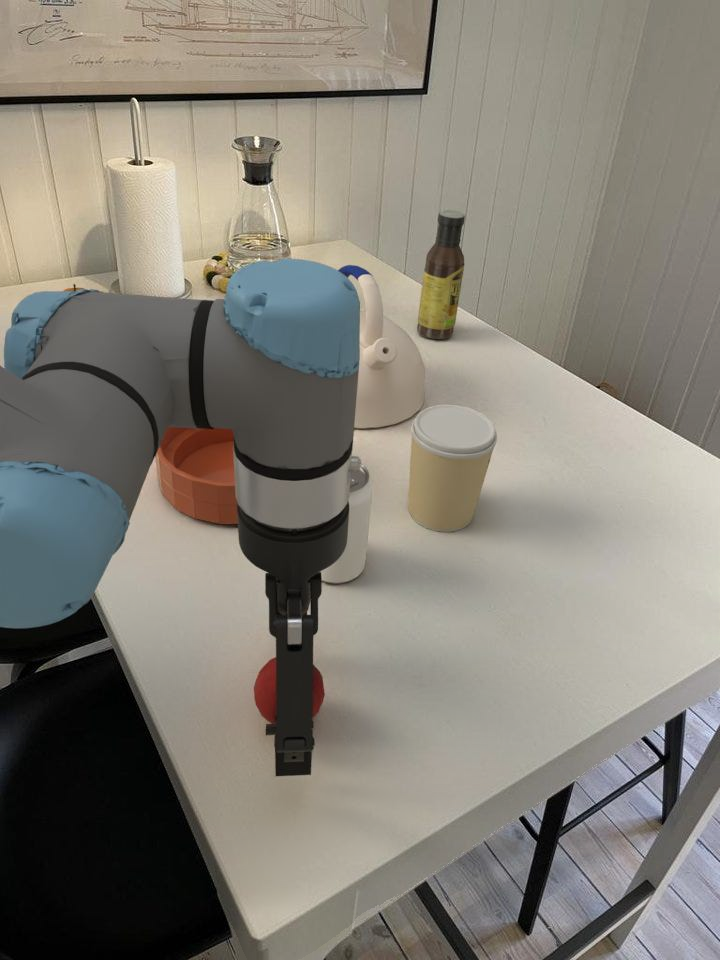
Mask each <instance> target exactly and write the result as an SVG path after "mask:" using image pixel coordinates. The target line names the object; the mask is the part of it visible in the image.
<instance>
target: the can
mask: <svg viewBox="0 0 720 960" xmlns="http://www.w3.org/2000/svg"><path fill="white" fill-rule="evenodd" d="M349 472H350V493H349V499H348V502H349V522H348V537H347V545H346V548H345V550H344V552H343V554H342V555H341V557H340V558H339V559H338V560H337V561H336V562H335V563H334V564H332V565H331V566H329V567H328V568H326V569H324V570H322V571H320V572H321V579H322V583H323V582H324V583H327V584H332V585H333V584H336V585H339V584H345V583H348V582H351V581H353V580H354V579H356V578H357V577H359V576H360V575H361V574H362V572H363V571H364V569H365V566H366V559H367V550H368V540H369V533H370V532H369V531H370V523H371V522H370V521H371V510H372V500H373V499H372V498H373V486H372V482H371V480H370V472H369V470H368V468H367V467H366V466H365V465H363V464H362V463H361V467H360V469H359V470H357V471H349Z"/></svg>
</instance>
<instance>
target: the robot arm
mask: <svg viewBox="0 0 720 960" xmlns="http://www.w3.org/2000/svg"><path fill="white" fill-rule="evenodd" d="M338 270H339V269H336V268H333V267H332V266H330V265H327V264H325V263H322V262H317V261H312V260H307V259H301V258H280V259H279V260H276V261H275V260H274V261H269V260H259V261H254V262H252V263H247V264H246V265H244V266H241V267H240V268H239V269H238V270H236V271H235V272H234V273H233V274H232V275H231V276H230V277H229V279H228V281H227V284H226V288H225V296H224V297H223V298H216V299H214V300H212V299H197V298H195V299H194V298H181V297H168V296H158V295H157V296H156V295H143V294H131V293H115V292H105V291H100V290H98V289H94V288H92V289H91V288H90V289H87V290H86V288H84V289H81V290H77V291H64V290H59V291H57V290H45V291H43V290H42V291H36V292H33V293H31V294H28V295H27V296H25V297H24V298H22V299H21V300H20V301H19V303H18V304H17V305H16V307H14V309H13V311H12V313H11V319H10V320H11V321H10V323H11V324H10V325H11V326H10V327H9V328H7V329H6V331H5V335H4V345H3V366H4V367H3V366H2V365H0V628H4V629H5V628H6V629H31V628H33V629H34V628H39V627H44V626H49V625H52V624H55V623H57V622H60V621H63V620H64V619H67V618H68V617H70V616H72V615H74V614H75V613H77V611H78V610H79V609H81V608H82V607H83V606H85V605H87V604H88V603H89V602H90V601H91V599H92V598H93V596H94V594H95V592H96V590H97V588H98V586H99V584H100V582H101V580H102V578H103V576H104V574H105V572H106V570H107V568H108V566H109V564H110V562H111V559H112V558H113V556H114V555H115V554H116V553H117V552H118V551H119V550H120V548H122V545H123V544H124V543H125V539H126V533H127V531H128V530H129V526H130V524H131V523H130V520H131V517H132V515H133V512H134V510H135V507H136V504H137V502H138V499H139V496H140V494H141V491H142V489H143V486H144V483H145V482H146V479H147V476H148V473H149V471H150V468H151V466H152V464H153V462H154V460H155V459H156V457H155V456H156V454H157V451H158V449H159V447H160V444H161V442H162V439H163V437H164V435H165V432H166V430H167V427H176V428H199V429H214V428H221V429H232V430H233V434H234V444H233V458H234V476H235V494H236V499H237V502H238V504H237V516H238V524H237V533H238V535H237V537H238V544H239V548H240V550H241V553H242V554H243V555H244V557H245V558H246V559H247V560H248V562H250V564H252V565H254V566H255V567H256V568H258V569H259V570H262V571H264V572H265V577H264V578H265V580H264V581H265V583H264V588H265V590H264V591H265V592H264V593H265V596H266V598H267V599H268V631H269V632H268V633H269V634H270V635H271V636H272V637H273V638H275V657H276V716H275V722H274V724H271V723H265V736H274V740H273V745H274V746H273V747H274V763H275V764H274V769H275V775H274V776H275V777H293V776H294V777H295V776H311V775H312V757H313V751H314V747H315V745H316V740H315V737H314V717H313V664H314V636H315V635H316V634H317V633H318V632H319V599H320V597H321V595H322V591H323V590H322V589H323V588H322V586H323V585H322V583H323V581H322V579H321V572H320V571H322V570H324V569H326V568H328V567H329V566H331V565H332V564H334V563H335V562H336V561H337V560H338V559H339V558H340V557H341V555H342V554H343V552H344V550H345V548H346V545H347V537H348V522H349V502H348V499H349V493H350V472H349V471H357V470H359V469H360V467H361V464H362V460H361V458H360V456H357V455H353V447H354V434H355V428H354V423H355V410H356V398H357V385H358V373H359V360H360V311H361V301H360V298H359V297H360V296H359V294H358V290H357V289H356V287H355V284H354V283H353V282H352V281H351V280H350V279H349V277H348V278H347V277H346V276H345V275H344V274H342V273H341V272H339V271H338ZM309 608H310V610H309ZM308 611H310V614H308Z"/></svg>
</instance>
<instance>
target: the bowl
mask: <svg viewBox="0 0 720 960" xmlns="http://www.w3.org/2000/svg"><path fill="white" fill-rule="evenodd" d="M233 444H234V434H233V430H232V429H221V428H214V429H199V428H176V427H167V430H166V432H165V435H164V437H163V439H162V442H161V444H160V447H159V449H158V451H157V454H156V456H155V465H156V474H157V482H158V485H159V489H160V491H161V495H162V496H163V498H164V499H166V500H167V501H168V502H169V503H170V504H171V505H172V506H173V507H174V508H175V510H177V511H179V512H181V513H183V514H185V515H187V516H189V517H191V518H193V519H197V520H201V521H206V522H209V523H210V522H211V523H214V524H221V525H222V524H223V525H227V524H228V525H229V524H230V525H236V524H237V525H238V516H237V504H238V502H237V499H236V494H235V476H234V458H233Z"/></svg>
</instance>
